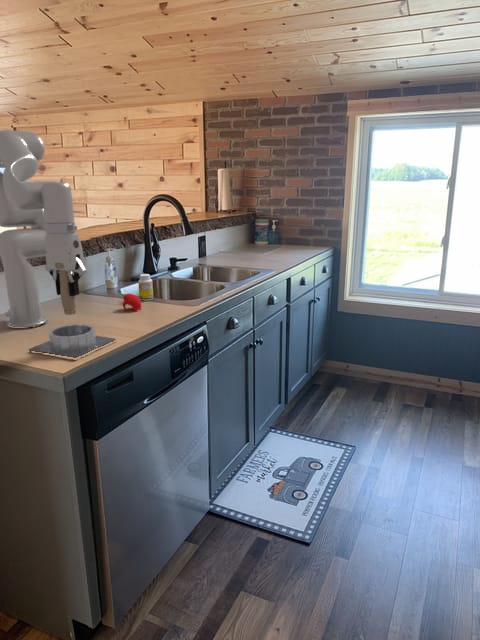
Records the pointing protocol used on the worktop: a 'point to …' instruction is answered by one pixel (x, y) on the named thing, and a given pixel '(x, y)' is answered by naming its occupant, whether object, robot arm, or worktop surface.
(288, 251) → the worktop surface
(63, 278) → the handle
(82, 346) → the duct collar
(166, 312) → the worktop surface
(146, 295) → the supplement bottle
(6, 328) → the worktop surface
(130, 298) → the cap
